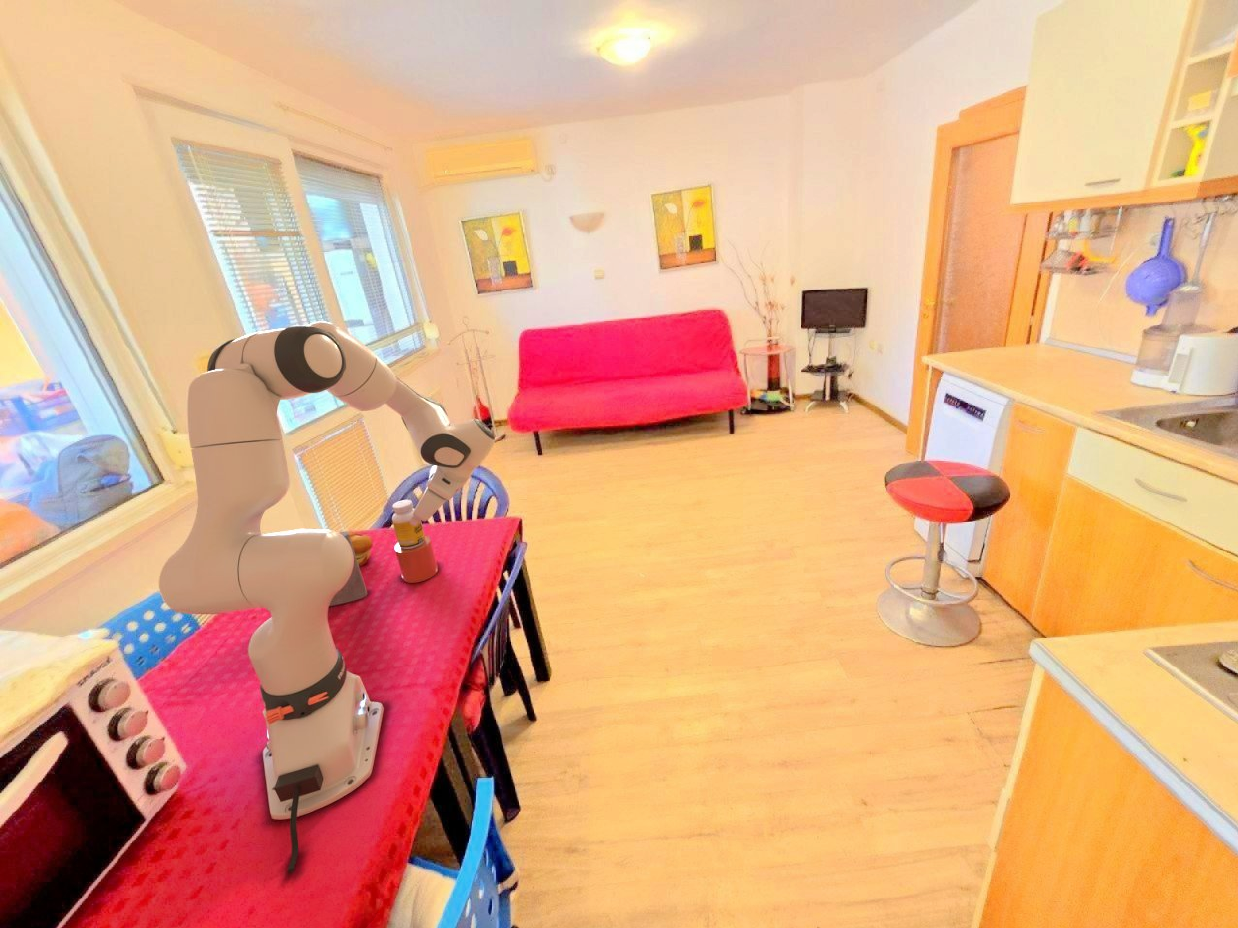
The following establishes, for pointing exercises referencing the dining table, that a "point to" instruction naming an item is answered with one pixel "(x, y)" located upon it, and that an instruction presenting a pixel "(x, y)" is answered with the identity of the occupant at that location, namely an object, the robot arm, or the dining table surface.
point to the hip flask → (351, 583)
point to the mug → (417, 562)
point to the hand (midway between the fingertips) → (417, 514)
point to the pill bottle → (406, 525)
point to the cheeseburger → (361, 547)
